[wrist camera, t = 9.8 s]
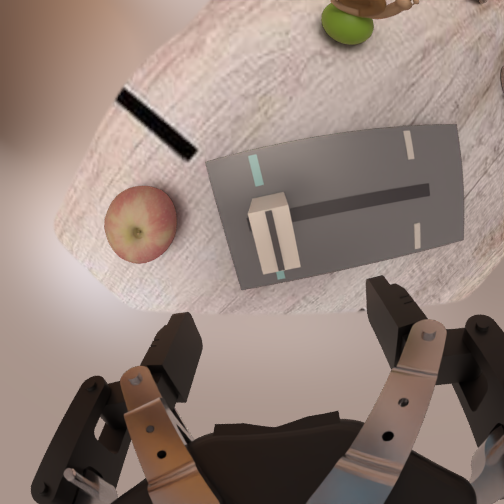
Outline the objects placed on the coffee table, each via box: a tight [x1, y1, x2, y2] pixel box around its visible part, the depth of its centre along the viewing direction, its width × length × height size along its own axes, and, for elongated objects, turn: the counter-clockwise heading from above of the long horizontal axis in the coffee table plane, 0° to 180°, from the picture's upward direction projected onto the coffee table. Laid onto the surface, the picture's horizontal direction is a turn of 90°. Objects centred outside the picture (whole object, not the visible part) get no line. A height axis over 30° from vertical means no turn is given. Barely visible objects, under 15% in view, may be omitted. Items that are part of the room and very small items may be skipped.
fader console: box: [205, 124, 464, 290], centre depth 26 cm, size 28×14×3 cm, turn 104°
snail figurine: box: [321, 0, 419, 45], centre depth 15 cm, size 5×6×12 cm
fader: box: [248, 192, 301, 274], centre depth 23 cm, size 3×5×6 cm, turn 14°
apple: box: [104, 186, 177, 264], centre depth 26 cm, size 8×8×8 cm
